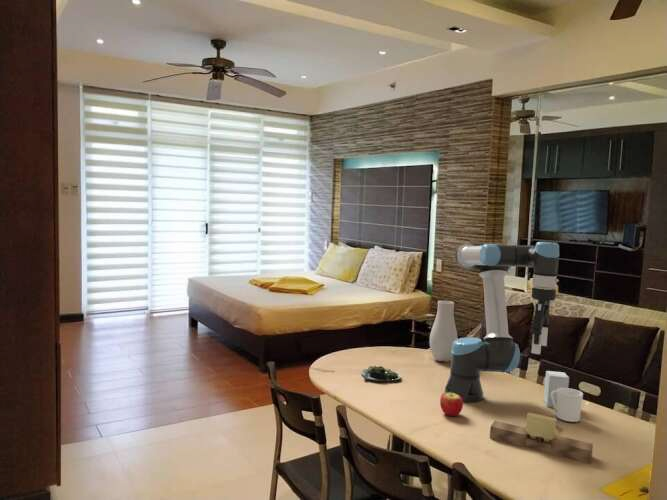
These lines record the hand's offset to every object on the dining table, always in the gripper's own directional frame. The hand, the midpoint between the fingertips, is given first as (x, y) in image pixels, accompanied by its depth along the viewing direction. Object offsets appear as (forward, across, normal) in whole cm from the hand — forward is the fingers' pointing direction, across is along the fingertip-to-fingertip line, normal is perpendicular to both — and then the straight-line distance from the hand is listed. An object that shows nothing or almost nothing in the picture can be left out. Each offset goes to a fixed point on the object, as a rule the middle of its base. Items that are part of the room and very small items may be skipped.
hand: (539, 349), depth 177 cm
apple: (+29, -3, +28) cm, 40 cm away
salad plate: (+29, +20, +67) cm, 76 cm away
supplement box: (+29, +33, -3) cm, 44 cm away
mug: (+29, +20, -8) cm, 36 cm away
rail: (+29, -12, -4) cm, 31 cm away
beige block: (+28, -12, -4) cm, 31 cm away
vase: (+29, +65, +54) cm, 89 cm away
